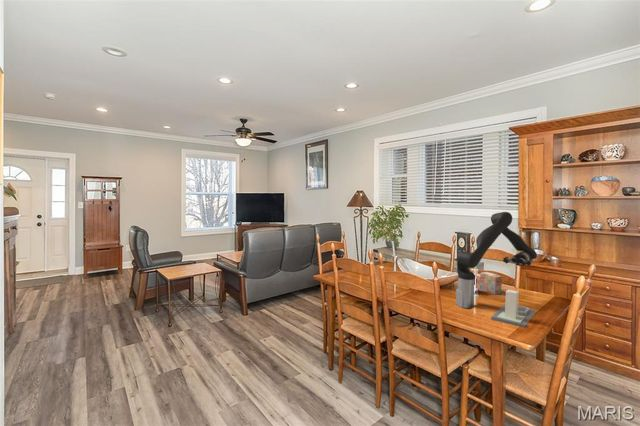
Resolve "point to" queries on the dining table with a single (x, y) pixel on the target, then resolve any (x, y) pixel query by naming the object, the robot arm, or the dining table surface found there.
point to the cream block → (511, 304)
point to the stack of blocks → (489, 282)
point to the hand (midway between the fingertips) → (514, 262)
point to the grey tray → (520, 321)
